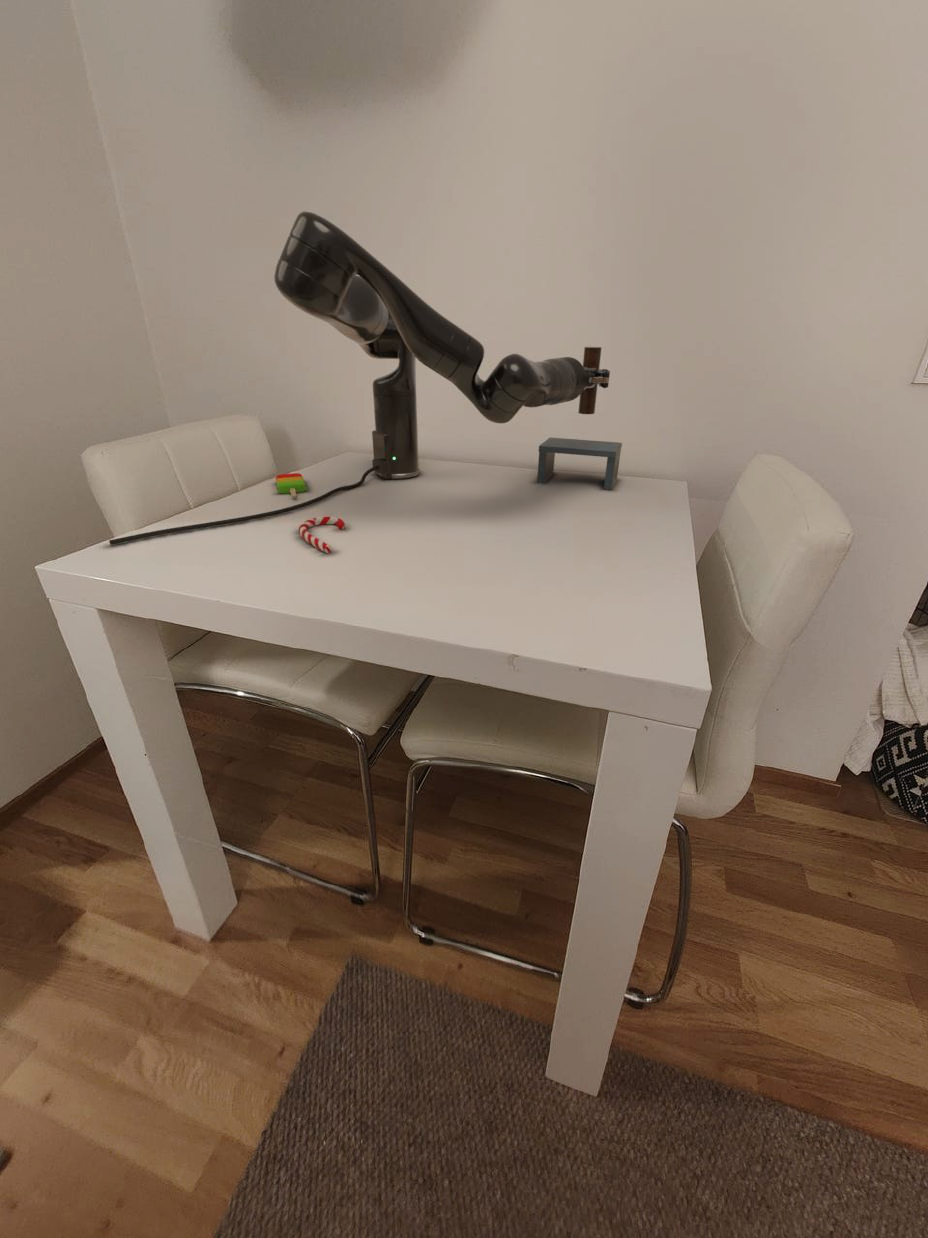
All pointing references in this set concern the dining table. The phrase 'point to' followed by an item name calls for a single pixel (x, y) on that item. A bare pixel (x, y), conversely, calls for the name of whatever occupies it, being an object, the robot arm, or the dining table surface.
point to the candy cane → (314, 522)
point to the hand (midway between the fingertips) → (596, 374)
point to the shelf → (579, 448)
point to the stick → (589, 394)
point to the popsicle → (290, 483)
